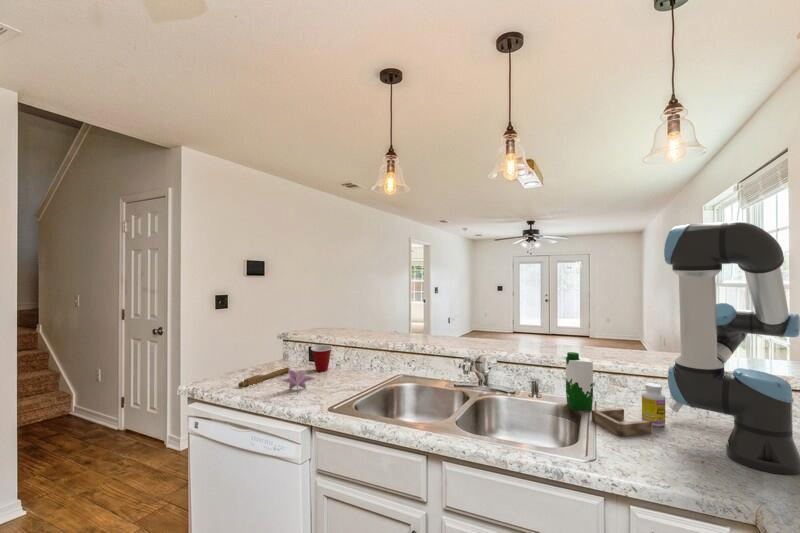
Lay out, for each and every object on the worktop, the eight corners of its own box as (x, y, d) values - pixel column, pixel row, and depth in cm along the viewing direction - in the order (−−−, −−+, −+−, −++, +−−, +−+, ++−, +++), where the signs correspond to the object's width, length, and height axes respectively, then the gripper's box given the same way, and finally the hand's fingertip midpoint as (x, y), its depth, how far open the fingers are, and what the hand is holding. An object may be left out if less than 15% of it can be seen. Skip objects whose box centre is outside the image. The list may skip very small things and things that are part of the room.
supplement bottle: (657, 428, 128) (657, 388, 128) (637, 421, 134) (637, 383, 134) (669, 425, 131) (669, 386, 131) (649, 418, 137) (649, 381, 137)
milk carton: (564, 402, 153) (563, 350, 154) (589, 404, 152) (589, 351, 152) (568, 410, 145) (568, 355, 145) (595, 412, 143) (595, 356, 143)
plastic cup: (307, 372, 197) (307, 348, 197) (315, 367, 208) (315, 344, 208) (328, 373, 196) (328, 349, 196) (335, 368, 206) (335, 345, 206)
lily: (318, 393, 169) (316, 370, 173) (303, 389, 159) (301, 365, 163) (293, 399, 172) (292, 377, 176) (277, 396, 161) (276, 373, 166)
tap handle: (290, 367, 198) (241, 382, 171) (290, 373, 198) (241, 389, 171) (285, 366, 200) (236, 381, 173) (285, 372, 200) (236, 388, 173)
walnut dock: (620, 417, 137) (620, 407, 137) (651, 433, 125) (651, 421, 125) (591, 420, 135) (591, 410, 135) (620, 436, 122) (620, 425, 122)
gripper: (738, 369, 132) (697, 423, 129) (701, 360, 145) (663, 409, 141) (725, 354, 131) (683, 408, 128) (689, 346, 144) (650, 395, 140)
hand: (672, 409), depth 135 cm, fingers closed
